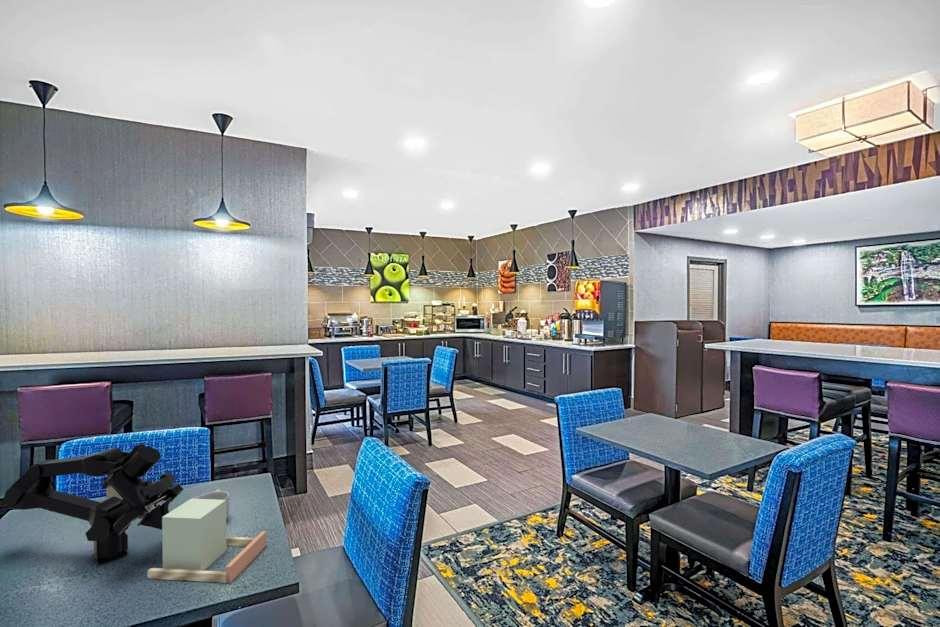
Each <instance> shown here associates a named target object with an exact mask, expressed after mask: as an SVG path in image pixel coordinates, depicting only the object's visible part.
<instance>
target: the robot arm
mask: <svg viewBox="0 0 940 627" xmlns="http://www.w3.org/2000/svg"><path fill="white" fill-rule="evenodd" d="M160 459H161V453H160V451H159V450H158V449H157V448H154V447H152V446H149V445H144V443H139V444H136V445H135V446H134V447H133V448H132V449H131V451H130V452H129V451H122V450H121V448H119V447H112V448H108V449H107V450H102V451H100V452H96V453H94V454H90V455H84V456H76V457H74V456H73V457H67V458H60V459H46V460H43V461H40V462H38V463H34V464H32V465H31V466H30V467H29V468H28V469H27V470H26V471H25V473H23V475H21V476H20V477H19V478H18V479H17V480H16V481H14V483H12V485H10V488H8V489H7V490H6V491H5V493H4V496H3V503H4V505H5V507H7V508H9V509H10V510H17V511H18V510H19V511H25V510H26V511H27V510H34V509H41V510H46V511H49V512H52V513H57V514H60V515H62V516H63V515H64V516H67V517H71V518H75V519H80V520H82V521H83V520H84V521H87V522H88V523H89V525H90V527H89V529H88V530H87V531H86V532H85V536H86V539H87V541H89V542H93V554H91V558H92V559H93V560H94V562H95V563H96V564H97V565H102V564H105V563H108V562H111V561H114V560H117V559H119V558H121V557H125V556H128V554H129V552H128V551H127V550H128V549H129V535H128V534H127V533H126V531H127V530H128V529H129V527H130V526H131V524H132V523H133V522H134V521H136V520H137V519H138V520H139V522H138V523H137V526H138V527H140V526H144V527H150V528H154V529H158V530H161V531H162V517H163V516H165V515H166V514H168V513H169V512H170V511H169V506H170V504H171V503H172V502H173V501H174V500H175V499H176V498H177V497H178V496H179V495H180V494H181V493H182V492H183V491H185V489H184V488H183V487H182V486H181V485H180V484H179V483H177V484H174V482H175V481H176V477H175V476H174V475H173V473H171V472H170V471H168V472H167V471H166V472H165V473H163V474H161V475H160V476H159V480H156V481H154V482H153V481H152V480H150V479H148V480H144V479H143V478H142V477H145V475H147V473H149V471H150V470H151V469H153V467H154V466H155V465H156V464H157V463H158V462H159V461H160ZM121 467H123V468H122V469H118V468H121ZM116 469H118V470H116ZM114 470H116V471H115V472H114V473H113V474H112V475H110V476H108V477H106V476H105V475H106V474H107V473H109V472H112V471H114ZM76 474H84V475H85V476H88V477H103V476H105V477H104V478H103V482H102V485H101V488H102V490H105V489H106V488H108V487H110V486H112V488H113V489H114V490H115V491H116V492H117V493H118V494H119V495H120V496H121V497H122V498H123V499H120V498H118V497H111V498H109V499H107V498H106V500H104V501H102V502H101V501H97V500H93V499H89V498H85V497H81V496H77V495H74V494H71V493H67V492H63V491H59V490H56V489H54V487H53V486H52V483H53V481H54V477H56V476H57V477H58V476H59V477H60V476H66V475H67V476H68V475H76Z"/></svg>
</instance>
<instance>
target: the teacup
mask: <svg viewBox="0 0 940 627" xmlns="http://www.w3.org/2000/svg"><path fill="white" fill-rule="evenodd" d="M192 499H216V500H226V518H227V517H228V516H229V513H230V493H229V492H228V491H223V490H222V489H220V488H219V489H215V491H211V492H205V493H202V494H200V495H197V496H195V497H193V498H192Z"/></svg>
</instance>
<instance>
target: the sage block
mask: <svg viewBox="0 0 940 627" xmlns="http://www.w3.org/2000/svg"><path fill="white" fill-rule="evenodd" d="M161 532H162V544H161V545H162V568H163V569H183V570H203V571H206V570H207V569H208V568H209V567H210V566H211V565H212V564H213V563H214V562H215V561H216V560H217V559H218V558H220V556H222V555H223V554H224V553H225V552H226V551H227V546H226V537H227V517H226V500H216V499H193V498H190V499H188V500H187V501H185V502H184V503H182V504H180V505H178V507H175V508H174V509H172V510H171V511H169V513H168V514H166V515H165V516H163V517H162V530H161Z"/></svg>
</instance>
